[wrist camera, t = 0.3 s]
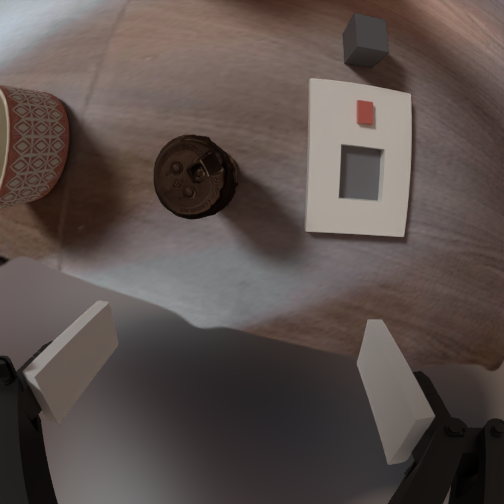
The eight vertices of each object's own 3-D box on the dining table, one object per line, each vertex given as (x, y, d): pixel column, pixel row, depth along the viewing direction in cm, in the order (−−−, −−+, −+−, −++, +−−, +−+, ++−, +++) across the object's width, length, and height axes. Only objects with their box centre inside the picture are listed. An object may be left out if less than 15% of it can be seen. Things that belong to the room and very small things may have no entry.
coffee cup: (254, 149, 37) (244, 141, 24) (241, 209, 39) (226, 231, 27) (190, 138, 37) (152, 129, 25) (180, 197, 39) (140, 214, 27)
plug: (342, 34, 31) (354, 13, 24) (369, 38, 31) (385, 19, 24) (344, 63, 32) (357, 46, 26) (371, 68, 32) (389, 52, 25)
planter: (31, 82, 35) (-26, 72, 21) (93, 114, 36) (27, 104, 22) (-1, 172, 40) (-55, 183, 26) (52, 218, 42) (-9, 241, 28)
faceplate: (308, 82, 34) (311, 76, 31) (404, 96, 33) (413, 92, 30) (304, 228, 39) (306, 232, 37) (398, 233, 38) (406, 238, 36)
